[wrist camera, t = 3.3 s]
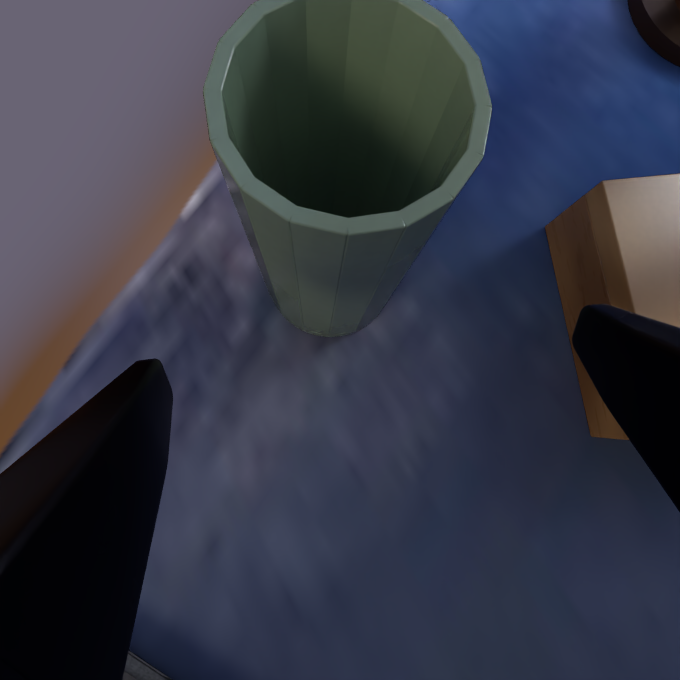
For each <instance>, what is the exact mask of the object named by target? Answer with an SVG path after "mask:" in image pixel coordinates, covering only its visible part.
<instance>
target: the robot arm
mask: <svg viewBox="0 0 680 680" xmlns="http://www.w3.org/2000/svg"><path fill="white" fill-rule="evenodd" d="M572 344H573V347H574V349H575V351H576V353H577V355H578V357H579V358H580V360H581V362H582V364H583V366H584V368H585V369H586V371H587V373H588V375H589V377H590V379H591V380H592V382H593V384H594V386H595V388H596V389H597V391H598V393H599V395H600V397H601V398H602V400H603V402H604V403H605V405H606V406H607V408H608V409H609V411H610V412H611V414H612V415H613V417H614V418H615V420H616V421H617V423H618V424H619V425H620V427H621V428H622V430H623V431H624V433H625V434H626V436H627V437H628V438H629V440H630V441H631V443H632V444H633V446H634V447H635V448H636V450H637V451H638V453H639V454H640V456H641V457H642V459H643V460H644V461H645V463H646V464H647V466H648V467H649V469H650V470H651V471H652V473H653V474H654V476H655V477H656V479H657V480H658V482H659V483H660V484H661V486H662V487H663V489H664V490H665V492H666V493H667V494H668V496H669V497H670V499H671V500H672V502H673V503H674V505H675V506H676V507H677V509H678V510H679V512H680V327H676V326H673V325H670V324H667V323H664V322H661V321H658V320H655V319H652V318H648V317H645V316H642V315H639V314H636V313H633V312H630V311H627V310H624V309H621V308H617V307H614V306H611V305H608V304H602V303H601V304H593V305H587V306H585V307H583V308H582V310H581V311H580V314H579V317H578V320H577V323H576V326H575V329H574V332H573V335H572ZM172 406H173V393H172V389H171V386H170V383H169V381H168V378H167V375H166V373H165V370H164V368H163V365H162V363H161V362H160V360H158V359H147V360H139V361H136V362H135V363H134V364H132V365H131V366H130V367H129V368H128V369H126V370H125V371H124V372H123V373H122V374H120V375H119V376H118V377H117V378H116V379H114V380H113V381H112V382H111V383H110V384H108V385H107V386H106V387H105V388H103V389H102V390H101V391H100V392H99V393H97V394H96V395H95V396H94V397H93V398H91V399H90V400H89V401H88V402H87V403H85V404H84V405H83V406H82V407H81V408H79V409H78V410H77V411H76V412H75V413H73V414H72V415H71V416H70V417H69V418H67V419H66V420H65V421H64V422H62V423H61V424H60V425H59V426H58V427H56V428H55V429H54V430H53V431H52V432H50V433H49V434H48V435H47V436H46V437H44V438H43V439H42V440H41V441H40V442H38V443H37V444H36V445H35V446H33V447H32V448H31V449H30V450H29V451H27V452H26V453H25V454H24V455H23V456H21V457H20V458H19V459H18V460H17V461H15V462H14V463H13V464H12V465H11V466H9V467H8V468H7V469H6V470H5V471H3V472H2V473H1V474H0V680H123V675H124V670H125V665H126V661H127V656H128V651H129V646H130V642H131V637H132V632H133V627H134V623H135V618H136V613H137V608H138V604H139V599H140V594H141V590H142V585H143V580H144V575H145V571H146V566H147V561H148V556H149V552H150V547H151V542H152V537H153V533H154V528H155V523H156V518H157V514H158V509H159V504H160V499H161V495H162V490H163V485H164V480H165V475H166V470H167V464H168V454H169V442H170V430H171V418H172Z"/></svg>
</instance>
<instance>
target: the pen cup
mask: <svg viewBox="0 0 680 680" xmlns="http://www.w3.org/2000/svg"><path fill="white" fill-rule="evenodd" d="M203 96H204V103H205V110H206V118H207V125H208V132H209V139H210V142H211V145H212V148H213V150H214V153H215V155H216V158H217V161H218V163H219V166H220V168H221V171H222V174H223V176H224V179H225V181H226V184H227V186H228V189H229V192H230V194H231V197H232V199H233V202H234V204H235V207H236V210H237V212H238V215H239V217H240V220H241V222H242V225H243V228H244V230H245V233H246V235H247V238H248V240H249V243H250V246H251V248H252V251H253V253H254V256H255V258H256V261H257V264H258V266H259V269H260V271H261V274H262V276H263V279H264V282H265V284H266V287H267V289H268V292H269V294H270V296H271V297H272V299H273V301H274V303H275V305H276V307H277V309H278V310H279V311H280V313H281V314H282V315H283V316H284V317H285V318H286V319H287V320H288V321H289V322H290V323H291V324H293V325H294V326H296V327H297V328H299V329H300V330H303V331H305V332H307V333H310V334H313V335H317V336H323V337H338V336H344V335H348V334H351V333H354V332H357V331H358V330H360V329H362V328H364V327H365V326H367V325H368V324H370V323H371V322H372V321H373V320H374V319H375V318H376V317H377V316H378V315H379V313H380V312H381V311H382V309H383V308H384V306H385V305H386V303H387V302H388V301H389V299H390V298H391V296H392V295H393V293H394V292H395V290H396V289H397V287H398V286H399V284H400V283H401V281H402V280H403V278H404V277H405V275H406V274H407V272H408V271H409V269H410V268H411V266H412V265H413V263H414V262H415V260H416V259H417V257H418V256H419V254H420V253H421V251H422V250H423V248H424V246H425V245H426V243H427V242H428V240H429V239H430V237H431V236H432V234H433V233H434V231H435V230H436V228H437V227H438V225H439V224H440V222H441V221H442V219H443V218H444V216H445V215H446V213H447V212H448V210H449V209H450V207H451V206H452V204H453V203H454V201H455V200H456V198H457V197H458V195H459V194H460V192H461V191H462V189H463V188H464V186H465V185H466V183H467V182H468V180H469V179H470V177H471V176H472V174H473V173H474V171H475V170H476V168H477V167H478V165H479V164H480V162H481V161H482V159H483V156H484V153H485V147H486V142H487V136H488V131H489V125H490V119H491V114H492V103H491V99H490V95H489V92H488V88H487V84H486V80H485V76H484V72H483V68H482V64H481V60H480V59H479V56H478V55H477V54H476V52H475V51H474V50H473V48H472V47H471V46H470V44H469V43H468V42H467V40H466V39H465V38H464V36H463V35H462V34H461V32H460V31H459V30H458V28H457V27H456V26H455V24H454V23H453V22H452V20H451V19H450V18H448V16H446V15H445V14H443V13H442V12H440V11H439V10H437V9H435V8H434V7H432V6H431V5H429V4H428V3H426V2H425V1H423V0H258V1H256V2H254V3H253V4H251V5H250V6H249V7H248V9H247V10H246V11H245V12H244V13H243V14H242V15H241V16H240V17H239V18H238V20H237V21H236V22H235V23H234V24H233V25H232V26H231V27H230V28H229V30H228V31H227V32H226V33H225V34H224V35H223V36H222V37H221V38H220V40H219V42H218V43H217V46H216V49H215V53H214V56H213V59H212V62H211V65H210V68H209V72H208V75H207V78H206V81H205V84H204V87H203Z"/></svg>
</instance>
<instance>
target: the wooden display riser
mask: <svg viewBox="0 0 680 680" xmlns="http://www.w3.org/2000/svg"><path fill="white" fill-rule="evenodd" d="M545 230H546V234H547V239H548V244H549V248H550V253H551V257H552V262H553V266H554V271H555V275H556V280H557V285H558V289H559V294H560V298H561V303H562V307H563V312H564V316H565V321H566V326H567V330H568V335H569V339H570V344H571V348H572V353H573V357H574V362H575V367H576V371H577V376H578V380H579V385H580V389H581V394H582V398H583V403H584V408H585V412H586V417H587V421H588V426H589V430H590V435H591V437H600V438H611V439H622V440H629V438H628V437H627V436H626V434H625V433H624V431H623V430H622V428H621V427H620V425H619V424H618V423H617V421H616V420H615V418H614V417H613V415H612V414H611V412H610V411H609V409H608V408H607V406H606V405H605V403H604V402H603V400H602V398H601V397H600V395H599V393H598V391H597V389H596V388H595V386H594V384H593V382H592V380H591V379H590V377H589V375H588V373H587V371H586V369H585V368H584V366H583V364H582V362H581V360H580V358H579V357H578V355H577V353H576V351H575V349H574V347H573V344H572V335H573V332H574V329H575V326H576V323H577V320H578V317H579V314H580V311H581V310H582V308H583V307H585V306H587V305H593V304H601V303H602V304H608V305H611V306H614V307H617V308H621V309H624V310H627V311H630V312H633V313H636V314H639V315H642V316H645V317H648V318H652V319H655V320H658V321H661V322H664V323H667V324H670V325H673V326H676V327H680V173H679V174H669V175H658V176H648V177H637V178H627V179H616V180H606V181H601V182H600V183H599V184H598V185H596V186H595V187H594V188H593V189H591V190H590V191H589V192H588V193H586V195H584V196H582V197H581V198H580V199H579V200H577V201H576V202H575V203H574V204H572V205H571V206H570V207H569V208H567V209H566V210H565V211H564V212H562V213H561V214H560V215H559V216H557V217H556V218H555V219H554V220H553V221H551V222H550V223H549V224H548V225H546V226H545Z"/></svg>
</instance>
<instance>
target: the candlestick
mask: <svg viewBox="0 0 680 680" xmlns="http://www.w3.org/2000/svg"><path fill="white" fill-rule="evenodd" d="M628 6H629V11H630V14H631V17H632V20H633V23H634V25H635V26H636V28H637V30H638V32H639V33H640V35H641V36H642V38H643V39H644V40H645V41H646V42H647V44H648V45H649V46H650V47H651V48H652V49H653V50H655V51H656V52H657V53H658V54H659V55H660V56H662V57H663V58H665V59H666V60H668V61H670V62H671V63H673V64H675V65H677V66H679V67H680V0H628Z"/></svg>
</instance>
